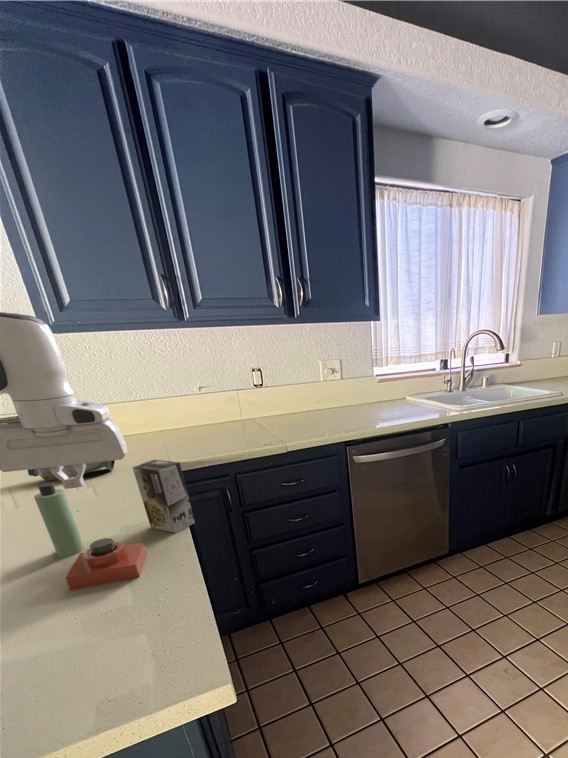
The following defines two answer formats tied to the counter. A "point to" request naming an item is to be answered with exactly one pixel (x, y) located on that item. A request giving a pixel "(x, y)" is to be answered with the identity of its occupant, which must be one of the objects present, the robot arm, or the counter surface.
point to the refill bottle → (58, 520)
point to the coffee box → (164, 495)
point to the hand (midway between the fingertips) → (75, 487)
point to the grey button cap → (102, 547)
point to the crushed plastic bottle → (70, 470)
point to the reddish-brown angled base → (107, 566)
